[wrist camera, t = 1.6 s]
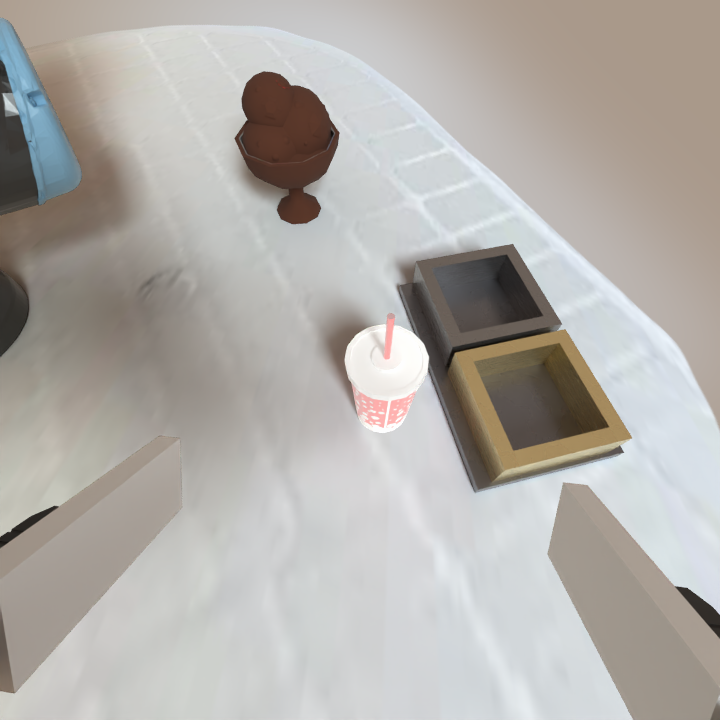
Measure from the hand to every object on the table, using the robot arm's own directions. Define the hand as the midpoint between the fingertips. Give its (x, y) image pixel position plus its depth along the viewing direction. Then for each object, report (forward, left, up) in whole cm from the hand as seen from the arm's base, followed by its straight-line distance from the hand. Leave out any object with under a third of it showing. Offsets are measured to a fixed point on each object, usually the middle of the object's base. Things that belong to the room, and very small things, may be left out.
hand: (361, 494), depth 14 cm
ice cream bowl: (-40, +2, -20) cm, 45 cm away
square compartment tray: (-13, +17, -20) cm, 29 cm away
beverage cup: (-11, +5, -20) cm, 23 cm away
